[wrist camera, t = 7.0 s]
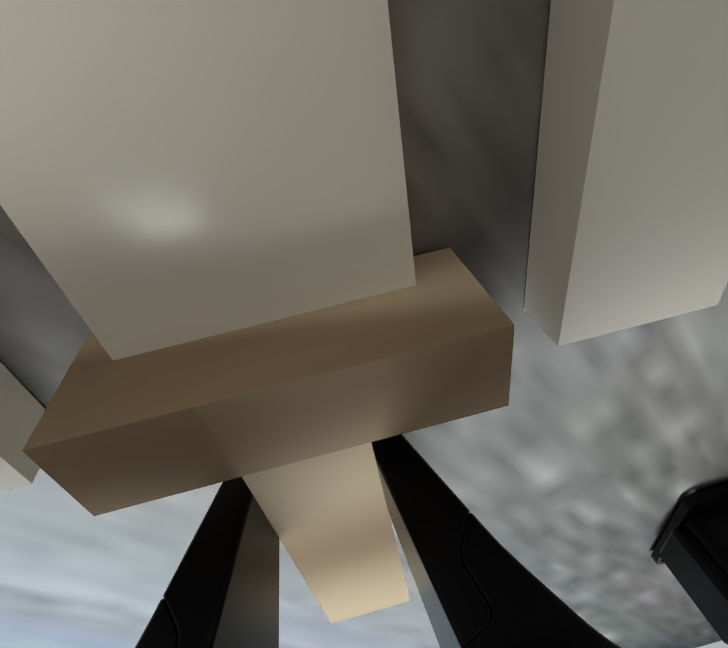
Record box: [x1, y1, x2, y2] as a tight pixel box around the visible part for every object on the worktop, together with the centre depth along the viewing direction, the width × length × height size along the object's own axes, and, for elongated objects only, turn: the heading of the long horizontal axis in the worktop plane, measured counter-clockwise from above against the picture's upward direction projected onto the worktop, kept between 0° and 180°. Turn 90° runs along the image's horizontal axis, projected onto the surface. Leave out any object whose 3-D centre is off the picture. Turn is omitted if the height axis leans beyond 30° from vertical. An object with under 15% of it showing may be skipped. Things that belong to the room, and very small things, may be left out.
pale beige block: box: [0, 0, 416, 361], centre depth 7 cm, size 6×6×2 cm
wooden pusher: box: [22, 247, 514, 624], centre depth 11 cm, size 10×8×3 cm
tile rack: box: [0, 0, 728, 492], centre depth 6 cm, size 20×14×2 cm
